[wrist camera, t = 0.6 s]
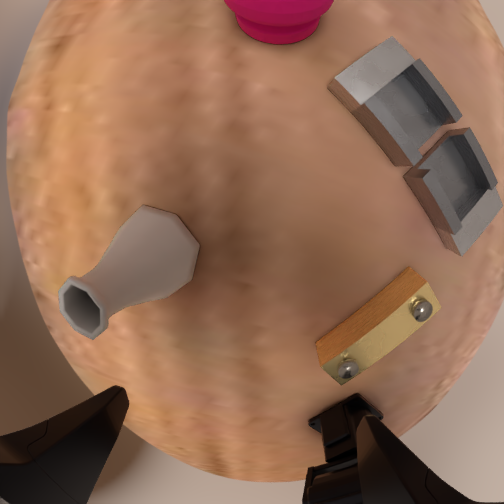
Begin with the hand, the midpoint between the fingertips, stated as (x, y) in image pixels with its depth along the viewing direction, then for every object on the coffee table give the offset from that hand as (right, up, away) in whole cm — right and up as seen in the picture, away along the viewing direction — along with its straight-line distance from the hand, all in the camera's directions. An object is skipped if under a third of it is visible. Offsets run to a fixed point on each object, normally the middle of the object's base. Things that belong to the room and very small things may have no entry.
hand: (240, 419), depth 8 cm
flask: (-7, +6, +12) cm, 16 cm away
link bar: (+10, 0, +13) cm, 16 cm away
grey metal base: (+13, +14, +8) cm, 21 cm away
